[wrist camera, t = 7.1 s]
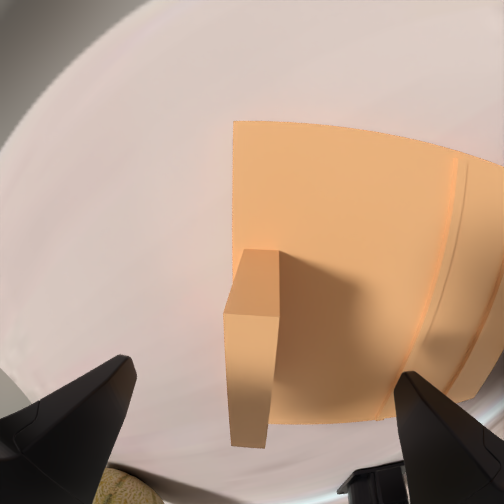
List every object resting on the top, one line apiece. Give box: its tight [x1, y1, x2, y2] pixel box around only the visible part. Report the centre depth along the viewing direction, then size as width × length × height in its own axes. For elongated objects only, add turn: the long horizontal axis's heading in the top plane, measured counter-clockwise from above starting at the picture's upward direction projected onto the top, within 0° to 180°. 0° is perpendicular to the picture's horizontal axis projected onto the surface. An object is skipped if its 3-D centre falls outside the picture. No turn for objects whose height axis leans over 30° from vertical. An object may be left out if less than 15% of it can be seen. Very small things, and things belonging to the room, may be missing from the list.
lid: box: [223, 121, 504, 449], centre depth 9 cm, size 15×17×5 cm
